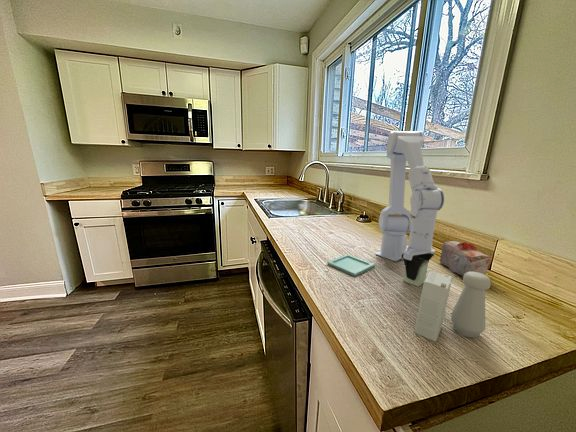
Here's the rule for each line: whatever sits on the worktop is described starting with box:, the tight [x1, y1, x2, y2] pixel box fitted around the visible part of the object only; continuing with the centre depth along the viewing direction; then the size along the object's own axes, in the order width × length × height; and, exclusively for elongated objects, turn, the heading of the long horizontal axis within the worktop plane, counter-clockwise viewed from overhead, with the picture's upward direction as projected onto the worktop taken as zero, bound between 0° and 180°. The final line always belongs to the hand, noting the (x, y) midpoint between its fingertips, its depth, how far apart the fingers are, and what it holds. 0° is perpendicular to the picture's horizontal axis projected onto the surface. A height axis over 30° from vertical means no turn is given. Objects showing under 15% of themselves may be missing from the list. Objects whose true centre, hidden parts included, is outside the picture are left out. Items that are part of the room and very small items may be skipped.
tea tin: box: [402, 258, 430, 287], centre depth 69 cm, size 5×5×7 cm
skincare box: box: [413, 271, 453, 342], centre depth 48 cm, size 6×4×12 cm
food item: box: [439, 240, 492, 278], centre depth 75 cm, size 14×8×10 cm, turn 4°
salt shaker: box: [450, 272, 492, 339], centre depth 48 cm, size 6×6×13 cm
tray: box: [326, 253, 376, 278], centre depth 79 cm, size 11×11×1 cm
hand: (414, 276), depth 69 cm, fingers closed on tea tin, 4 cm apart
